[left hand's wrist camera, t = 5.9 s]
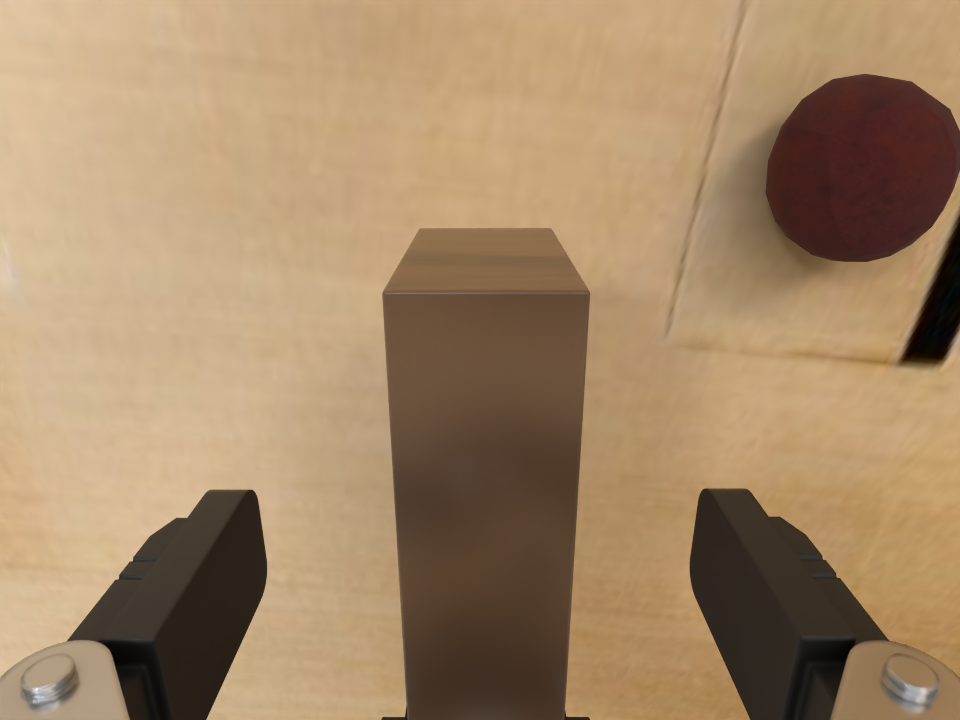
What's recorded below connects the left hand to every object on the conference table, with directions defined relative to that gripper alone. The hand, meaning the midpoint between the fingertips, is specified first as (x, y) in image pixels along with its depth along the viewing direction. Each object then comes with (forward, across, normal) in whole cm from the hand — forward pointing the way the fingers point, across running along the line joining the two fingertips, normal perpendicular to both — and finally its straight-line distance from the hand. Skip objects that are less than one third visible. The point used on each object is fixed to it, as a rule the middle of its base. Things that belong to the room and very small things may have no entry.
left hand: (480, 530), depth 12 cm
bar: (+12, 0, -8) cm, 15 cm away
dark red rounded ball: (+22, +16, +5) cm, 28 cm away
